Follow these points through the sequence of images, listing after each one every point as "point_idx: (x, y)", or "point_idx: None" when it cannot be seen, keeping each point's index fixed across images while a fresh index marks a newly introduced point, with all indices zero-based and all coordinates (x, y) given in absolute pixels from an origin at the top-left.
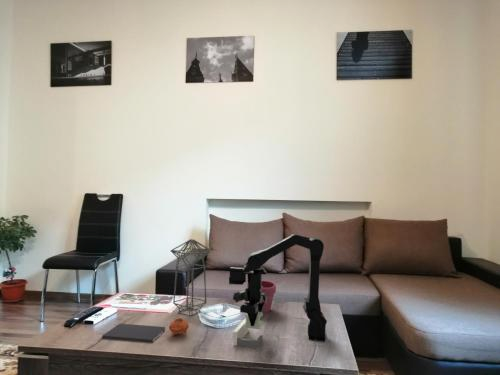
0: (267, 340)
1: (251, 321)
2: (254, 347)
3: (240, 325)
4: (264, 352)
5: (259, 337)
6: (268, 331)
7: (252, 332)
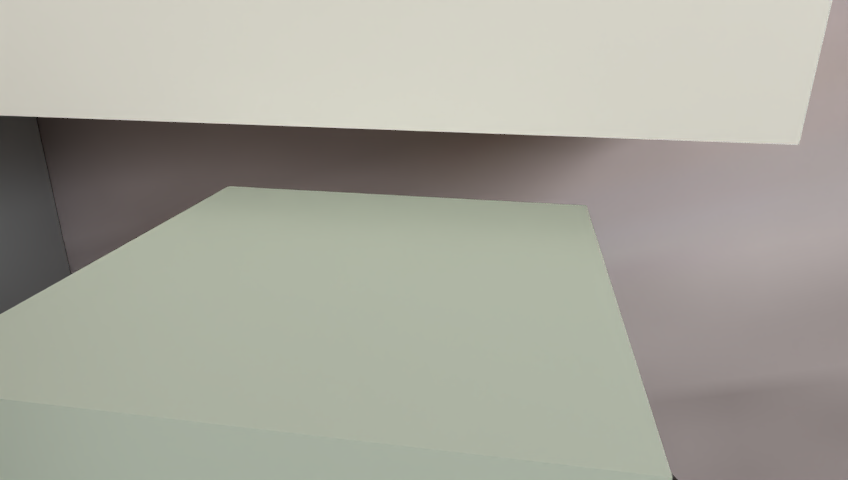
0: None
1: None
2: None
3: (96, 48)
4: None
5: None
6: (723, 459)
7: (612, 195)
